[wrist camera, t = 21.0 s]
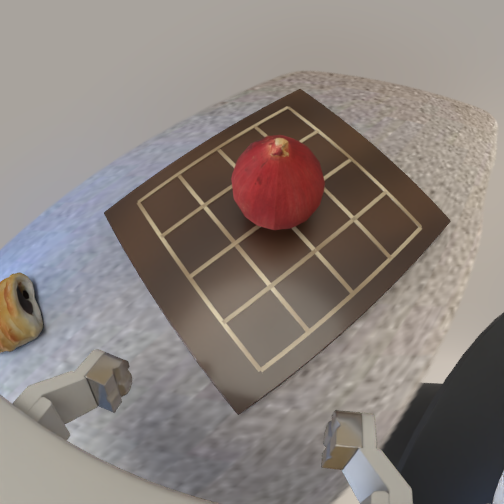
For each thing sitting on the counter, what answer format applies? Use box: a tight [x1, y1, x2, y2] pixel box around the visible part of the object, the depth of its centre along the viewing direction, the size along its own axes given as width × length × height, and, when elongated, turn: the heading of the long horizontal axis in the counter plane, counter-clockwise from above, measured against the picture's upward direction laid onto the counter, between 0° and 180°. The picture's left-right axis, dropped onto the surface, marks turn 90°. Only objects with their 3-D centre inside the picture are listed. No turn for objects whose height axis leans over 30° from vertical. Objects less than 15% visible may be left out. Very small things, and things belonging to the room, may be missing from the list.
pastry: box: [0, 273, 43, 353], centre depth 21 cm, size 9×7×4 cm
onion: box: [231, 135, 325, 230], centre depth 19 cm, size 6×6×8 cm
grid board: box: [104, 89, 450, 415], centre depth 23 cm, size 19×22×2 cm
